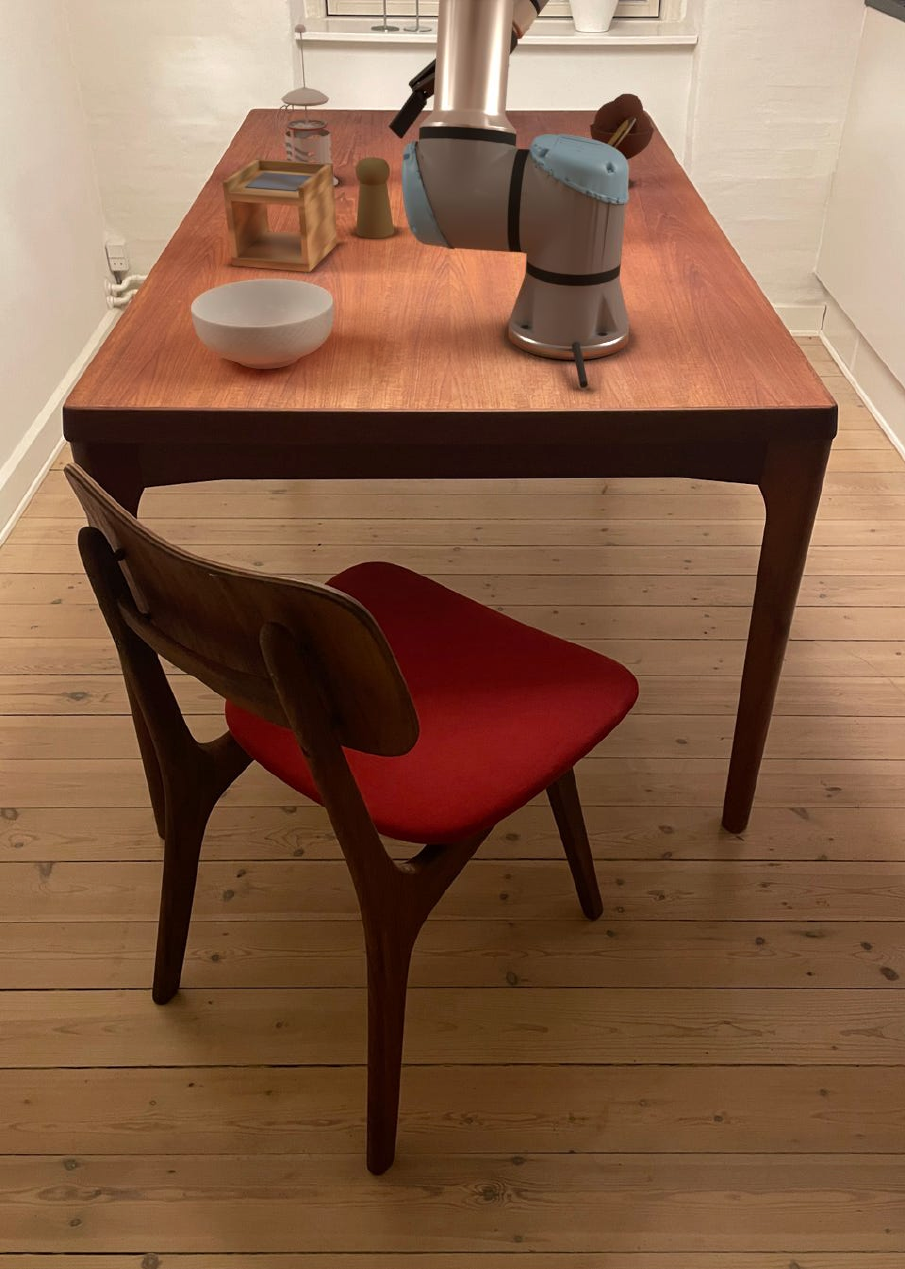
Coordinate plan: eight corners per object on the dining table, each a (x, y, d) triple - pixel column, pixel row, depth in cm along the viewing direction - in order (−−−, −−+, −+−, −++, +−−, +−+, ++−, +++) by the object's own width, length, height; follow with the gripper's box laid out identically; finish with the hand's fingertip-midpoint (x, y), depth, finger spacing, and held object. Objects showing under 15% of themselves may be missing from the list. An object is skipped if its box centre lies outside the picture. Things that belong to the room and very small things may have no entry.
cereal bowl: (339, 329, 144) (336, 275, 140) (334, 383, 131) (331, 325, 127) (207, 331, 143) (200, 276, 139) (188, 385, 130) (180, 327, 126)
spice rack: (309, 272, 161) (303, 187, 154) (231, 265, 164) (222, 181, 156) (337, 244, 172) (332, 163, 164) (263, 238, 174) (256, 158, 167)
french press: (312, 193, 193) (301, 31, 178) (264, 181, 199) (249, 23, 184) (349, 180, 200) (342, 23, 185) (302, 170, 205) (291, 16, 190)
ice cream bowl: (656, 181, 200) (666, 90, 191) (630, 196, 193) (639, 102, 184) (603, 172, 205) (611, 83, 196) (575, 186, 197) (582, 94, 188)
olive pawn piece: (350, 236, 174) (347, 162, 168) (362, 225, 179) (359, 152, 173) (388, 239, 173) (385, 165, 167) (398, 228, 178) (396, 155, 171)
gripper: (562, 55, 164) (474, 176, 166) (471, 30, 181) (392, 140, 183) (534, 17, 158) (443, 143, 161) (443, -5, 175) (362, 109, 178)
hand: (416, 142), depth 172 cm, fingers open, 13 cm apart
